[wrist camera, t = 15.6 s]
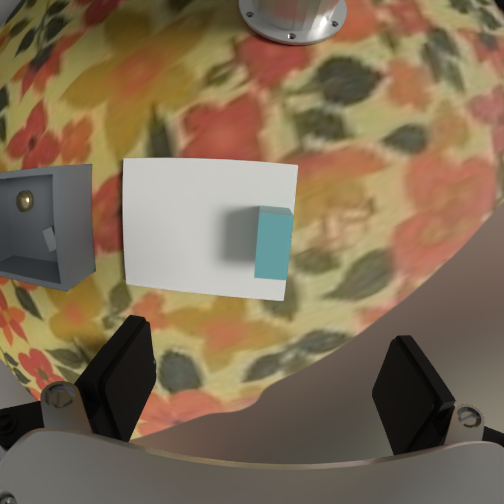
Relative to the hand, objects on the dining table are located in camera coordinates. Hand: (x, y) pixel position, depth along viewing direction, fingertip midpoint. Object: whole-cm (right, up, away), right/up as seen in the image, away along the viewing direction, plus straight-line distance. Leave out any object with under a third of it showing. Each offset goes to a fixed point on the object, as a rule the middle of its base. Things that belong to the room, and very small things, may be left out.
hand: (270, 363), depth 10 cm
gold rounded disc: (-33, +12, +21) cm, 41 cm away
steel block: (-27, +6, +23) cm, 36 cm away
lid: (-6, +7, +23) cm, 24 cm away
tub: (-30, +9, +23) cm, 39 cm away
